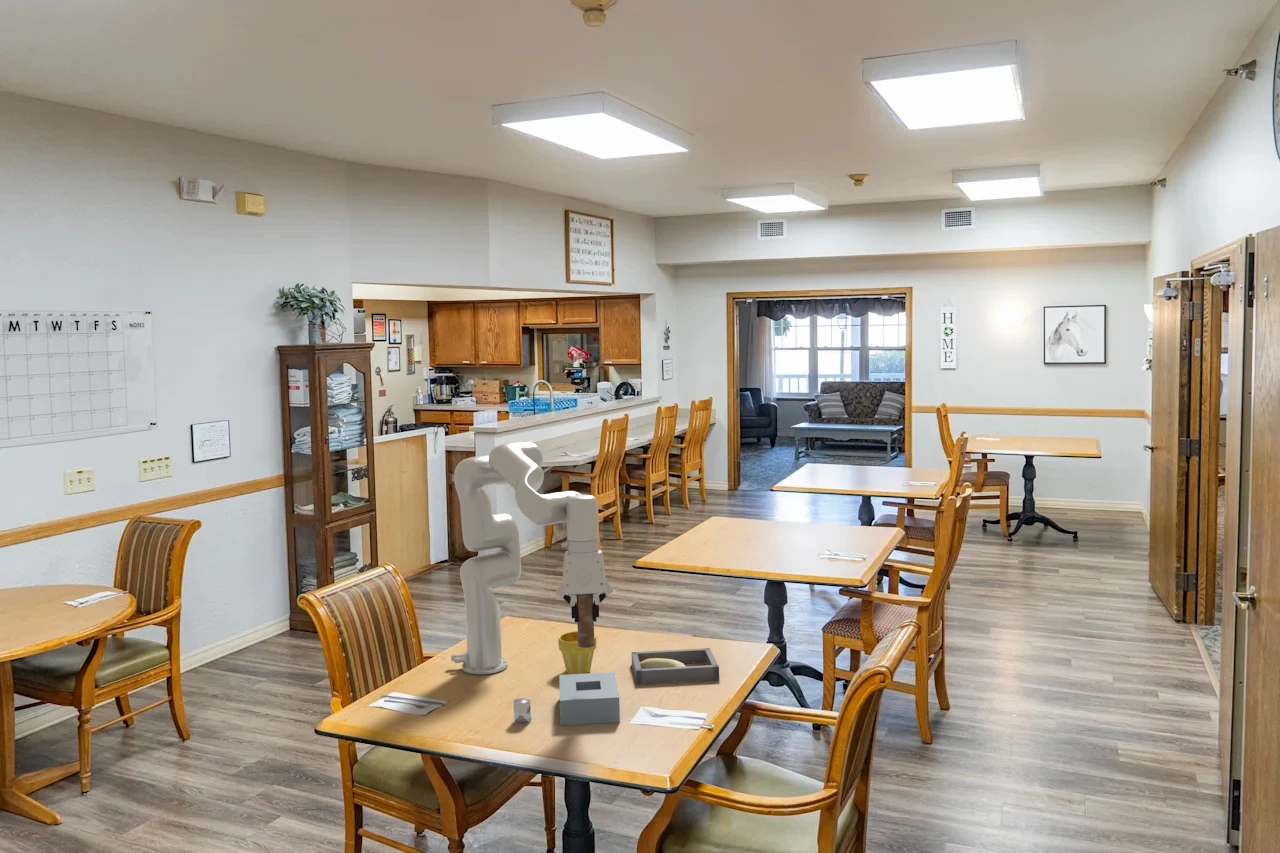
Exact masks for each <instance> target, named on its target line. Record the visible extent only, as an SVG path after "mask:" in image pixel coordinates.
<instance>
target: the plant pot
mask: <svg viewBox="0 0 1280 853" xmlns="http://www.w3.org/2000/svg"><path fill="white" fill-rule="evenodd" d="M594 642H595V645H594V646H593V647H589V648H582V647H579V646H578V630H573V631H568V632H565V633H562V634H560V635H559V636H558V649H559V651H560V653H561V655H562V656H561V657H562V659H563V664H564V668H565V671H566V673H567V674H587V673H589V672H590V671H591V668H592V663H593V657H594V652H595V650H596V649H597V635H596V634H595V633H594Z"/></svg>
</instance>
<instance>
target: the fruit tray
mask: <svg viewBox="0 0 1280 853" xmlns="http://www.w3.org/2000/svg"><path fill="white" fill-rule="evenodd" d="M650 658H662V659H672V660H676V661H679V662H681V663H683V664H693V663H692V662H700V663H705V662H706V663H705V664H707V665H693V666H691V665H686V667H668V668H650V669H641V666H640V662H642V661H644V660H646V659H650ZM631 667H632V670H633V671H632V672H633V674H634V680H635V683H636V685H646V684H647V683H648V684H665V683H664V682H666V683H680V682H679V681H684V682H696V681H695V680H702V681H716V680H715V679H719V680H720V666H719V664H718V662H717V660H716V658H715V656H714V654H713V653H712V650H711V648H710V647H707V648H705V647H704V648H684V649H668V650H650V651H631ZM712 679H713V680H712ZM648 684H647V685H648Z"/></svg>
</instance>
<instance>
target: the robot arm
mask: <svg viewBox="0 0 1280 853" xmlns="http://www.w3.org/2000/svg"><path fill="white" fill-rule="evenodd" d="M543 461H544V459H543V453H542V451H541V449H540V447H539V446H538V445H537V444H535V443H534V442H530V441H519V442H509V443H502V444H499V445H497V446H495V447H493V449H492V450H491V451H490V452H489V454H487V455H486V454H485V455H479V456H478V455H477V456H471V457H467V458H464V459H462V460H461V461H460V462H458V464H457V465H456V466H455V469H454V473H453V482H454V487H455V489H456V490H455V491H456V494H457V497H458V500H459V506H460V518H461V519H460V520H461V532H462V541H463V545H464V547H465V549H466V550H468V551H470V552H474V553H475V552H482V551H488V550H494V549H496V551H497V552H493V553H487V554H483V555H477V556H473V557H471V558H468V559H467V560H465V561H464V562H463V563H462V564H461V567H460V568H459V576H460V577H459V578H460V582H461V585H462V590H463V596H464V598H463V599H464V610H465V611H464V612H465V630H466V631H465V632H466V633H465V634H466V636H465V637H466V651H465V652H463V653H461V654H458V653H455V654H454V653H453V654H450V655H451V656H450V659H451V662H454V663H455V664H461V663H462V665H461V669H462V671H463V672H465V673H466V674H471V675H491V674H495V673H499V672H501V671H503V670H505V669H507V667H508V660H507V659H505V658H503V656H502V655H503V654H502V653H503V652H502V633H501V632H502V631H501V630H502V628H501V606H500V602H499V600H498V598H497V597H496V596H495V594H494V593H493V591H492V590H493V589H497V588H501V587H504V586H505V587H506V586H509V585H513V584H515V583H517V581H518V580H519V579H520V577H521V574H522V559H521V546H520V545H521V544H520V543H521V542H520V533H519V528H518V525H517V522H516V520H515V519H514V517H513V516H512V515H510V514H508V513H504V512H503V513H502V512H499V513H493V511H492V501H491V497H490V496H489V494H488V493H487V491H486V490H485V489H484V488H485V487H492V486H500V485H501V486H502V485H508V484H509V485H510V486H511V487H512V488H513V489H514V491H515V493H514V495H515V496H514V497H515V498H514V499H515V501H516V502H515V503H516V505H517V507H518V509H519V512H521V513H522V515H524V516H525V517H526V518H528V520H530V521H531V522H533V523H534V524H536V525H538V526H550V525H555V524H560V523H561V524H562V523H566V536H567V537H566V541H564V542H561V549H566V551H565V552H564V556H563V564H562V565H563V566H562V567H563V568H562V571H563V572H562V581H561V583H560V584H559V586H558V588H557V590H556V591H555V594H556V596H557V597H559V598H561V599H563V600H564V601H565V602H566V603H568V604H569V605H570V608H571V619H574V623H576V624H577V622H578V616H577V597H576V595H583V594H593V619H594V623H596V622H597V621H598V620H597V618H599V617H600V605H601V603H602V602H603V601H604V599H606V597H608V596H609V595H610V594H612V593H613V592H614V588H613V587H612V585H611V584H610V582H609V581H608V580H607V579H606V570H605V561H604V555H603V551H602V550H601V549H599V544H600V543H599V521H598V500H597V497H595V496H594V495H593V494H592V495H591V494H582V493H581V492H578V491H575V490H565V491H558V492H551V493H544V494H539V493H538V492H537V491H538V490H539V489H540V488H541V486H542V485H543V482H544V479H545V474H544V473H545V472H544V470H543V468H542V464H543Z"/></svg>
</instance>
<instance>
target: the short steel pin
mask: <svg viewBox="0 0 1280 853" xmlns="http://www.w3.org/2000/svg"><path fill="white" fill-rule="evenodd" d="M512 702H513V723H514V724H515V725H518V724H520V725H521V726H523V725H522V724H525V725H528V724H530V723H531V722H532V711H531V708H532V707H531V706H532V705H531V699H530V698H527V697H521V698H520V697H519V698H516V699H514V700H513V701H512ZM529 722H530V723H529ZM527 723H528V724H527ZM520 725H519V726H520Z"/></svg>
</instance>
